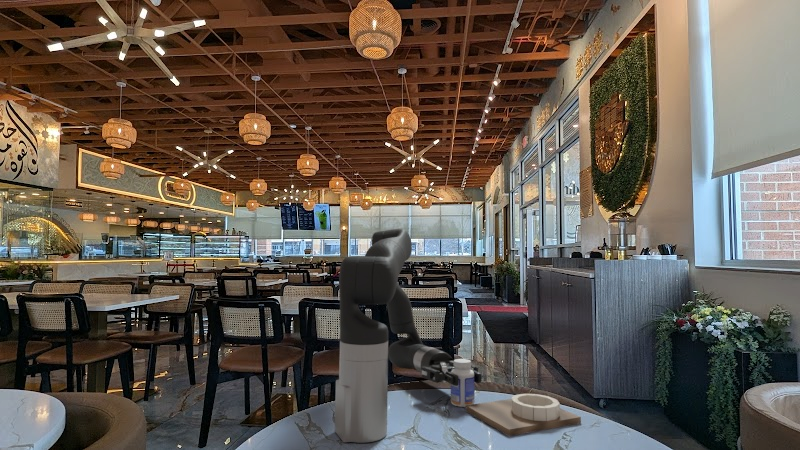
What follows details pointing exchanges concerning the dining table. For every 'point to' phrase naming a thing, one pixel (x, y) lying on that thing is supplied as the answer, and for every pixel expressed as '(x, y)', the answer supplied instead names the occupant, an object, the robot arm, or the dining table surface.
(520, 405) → the socket sleeve
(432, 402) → the dining table surface
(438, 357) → the robot arm
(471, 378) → the pill bottle
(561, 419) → the socket board
